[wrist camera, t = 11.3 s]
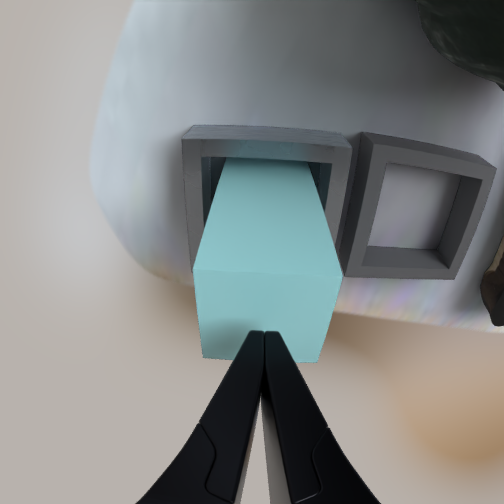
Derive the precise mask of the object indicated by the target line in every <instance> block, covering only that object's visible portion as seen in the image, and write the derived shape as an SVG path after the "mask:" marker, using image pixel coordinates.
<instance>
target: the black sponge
mask: <svg viewBox="0 0 504 504" xmlns="http://www.w3.org/2000/svg"><path fill="white" fill-rule="evenodd" d="M480 289H481V296H482V300H483V303H484V305H485V306H486V308H487V310H488V312H489V314H490V318H491V321H492V324H493V325H494V326H504V236H503V238H502V241H501V243H500V246H499V249H498V250H497V253H496V255H495V257H494V261H493V263H492V264H491V266H490V268H489V269H488V270H487V271H485V273H484V277H483V280H482V283H481V287H480Z"/></svg>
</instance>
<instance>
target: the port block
mask: <svg viewBox="0 0 504 504" xmlns="http://www.w3.org/2000/svg"><path fill="white" fill-rule="evenodd" d="M352 150H353V148H352V146H351V145H350V144H349V143H348V141H347V140H346V139H345V138H344V137H343V135H342V134H341V133H337V132H327V131H318V130H307V129H295V128H280V127H263V126H236V125H193V126H192V128H191V129H190V130H189V131H188V132H187V133H186V135H185V136H184V137H183V138H182V154H183V172H184V188H185V202H186V215H187V227H188V239H189V250H190V260H191V270H192V273H193V267H194V263H195V260H196V256H197V253H198V249H199V246H200V242H201V239H202V235H203V232H204V229H205V225H206V222H207V219H208V215H209V212H210V209H211V175H210V157H241V158H264V159H282V160H296V161H310V162H321V166H320V174H319V182H318V189H317V192H318V195H319V198H320V201H321V205H322V208H323V211H324V214H325V217H326V220H327V224H328V227H329V230H330V233H331V237H332V240H333V244H334V247H335V243H336V238H337V234H338V229H339V224H340V219H341V214H342V208H343V203H344V198H345V192H346V187H347V181H348V175H349V169H350V163H351V157H352Z"/></svg>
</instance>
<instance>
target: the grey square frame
mask: <svg viewBox="0 0 504 504" xmlns="http://www.w3.org/2000/svg"><path fill="white" fill-rule="evenodd" d="M387 162H389V163H396V164H403V165H409V166H415V167H421V168H427V169H433V170H438V171H443V172H449V173H454V174H459V175H462V178H461V181H460V185H459V188H458V191H457V195H456V198H455V201H454V204H453V207H452V210H451V213H450V216H449V219H448V222H447V225H446V228H445V230H444V233H443V236H442V239H441V241H440V244H439V246H438V249H437V250H426V249H410V248H394V247H377V246H367V244H368V240H369V237H370V233H371V229H372V225H373V221H374V217H375V213H376V209H377V205H378V201H379V196H380V192H381V188H382V183H383V178H384V174H385V169H386V164H387ZM495 173H496V168H495V167H494V166H492V165H491V164H490V163H488V162H487V161H486V160H484V159H483V158H481V157H480V156H479V155H475V154H472V153H468V152H464V151H460V150H456V149H451V148H447V147H443V146H438V145H433V144H429V143H424V142H419V141H414V140H408V139H403V138H397V137H392V136H386V135H379V134H373V133H366V132H362V135H361V141H360V148H359V154H358V160H357V166H356V172H355V177H354V183H353V188H352V193H351V199H350V204H349V209H348V214H347V219H346V223H345V228H344V233H343V237H342V242H341V246H340V251H339V255H338V256H339V259H340V262H341V266H342V269H343V273H344V276H345V277H364V278H398V279H443V280H454V279H455V277H456V275H457V273H458V270H459V268H460V266H461V264H462V262H463V259H464V257H465V255H466V253H467V250H468V248H469V245H470V243H471V241H472V238H473V236H474V233H475V231H476V228H477V226H478V223H479V220H480V218H481V215H482V212H483V209H484V207H485V204H486V201H487V198H488V195H489V192H490V189H491V186H492V183H493V179H494V176H495Z"/></svg>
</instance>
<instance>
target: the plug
mask: <svg viewBox="0 0 504 504" xmlns="http://www.w3.org/2000/svg"><path fill="white" fill-rule="evenodd" d="M193 276H194V286H195V295H196V304H197V313H198V322H199V330H200V338H201V346H202V354H203V358H211V359H225V360H234V358H235V356H236V354H237V353H238V351H239V349H240V347H241V345H242V343H243V342H244V340H245V338H246V336H247V334H248V332H249V331H250V330H262V331H264V333H265V331H278V332H279V333H280V334H281V336H282V338H283V340H284V342H285V344H286V346H287V347H288V349H289V351H290V353H291V355H292V357H293V359H294V361H295V362H297V363H299V362H300V363H307V362H308V363H317V361H318V358H319V355H320V352H321V349H322V346H323V343H324V340H325V336H326V333H327V330H328V327H329V323H330V320H331V317H332V313H333V310H334V307H335V303H336V300H337V296H338V292H339V289H340V285H341V282H342V278H343V275H342V271H341V268H340V264H339V261H338V257H337V254H336V250H335V247H334V244H333V240H332V237H331V233H330V230H329V227H328V224H327V220H326V217H325V214H324V211H323V208H322V205H321V201H320V198H319V195H318V192H317V189H316V186H315V183H314V180H313V177H312V174H311V171H310V169H309V166H308V163H307V161H296V160H282V159H264V158H241V157H227V158H226V161H225V164H224V167H223V170H222V174H221V177H220V180H219V183H218V186H217V189H216V192H215V196H214V199H213V202H212V205H211V209H210V212H209V215H208V219H207V222H206V225H205V229H204V232H203V235H202V239H201V242H200V246H199V249H198V253H197V256H196V260H195V263H194V267H193Z"/></svg>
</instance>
